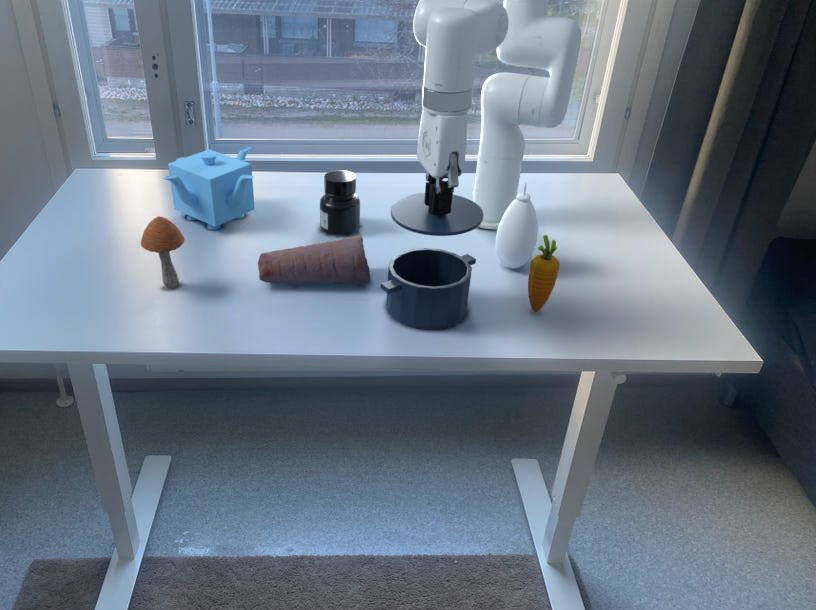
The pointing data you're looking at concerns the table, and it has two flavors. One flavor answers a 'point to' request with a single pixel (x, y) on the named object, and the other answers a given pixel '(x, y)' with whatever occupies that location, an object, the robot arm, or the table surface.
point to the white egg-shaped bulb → (517, 232)
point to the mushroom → (163, 246)
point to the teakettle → (212, 186)
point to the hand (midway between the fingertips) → (437, 208)
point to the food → (317, 263)
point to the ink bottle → (340, 204)
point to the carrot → (542, 275)
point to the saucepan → (428, 287)
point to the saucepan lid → (422, 221)
